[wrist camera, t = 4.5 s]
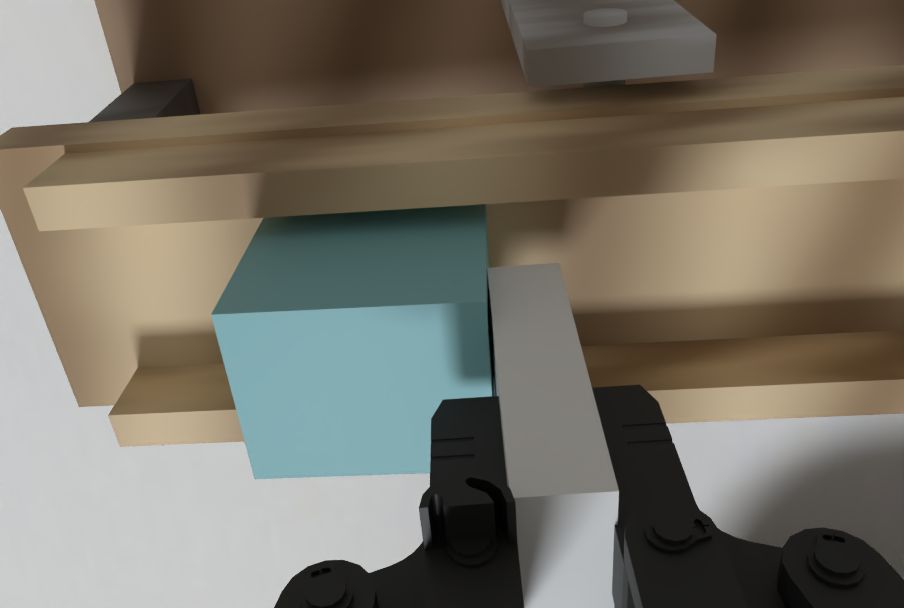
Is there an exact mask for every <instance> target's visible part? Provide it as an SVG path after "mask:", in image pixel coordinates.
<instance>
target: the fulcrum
mask: <svg viewBox="0 0 904 608" xmlns="http://www.w3.org/2000/svg"><path fill="white" fill-rule="evenodd" d="M95 4H96V7H97V11H98V14H99V18H100V21H101V24H102V28H103V31H104V35H105V38H106V42H107V45H108V48H109V52H110V55H111V59H112V62H113V66H114V69H115V73H116V76H117V79H118V83H119V86H120V90H121V93H122V94H121V95H120V96H118V97H117V98H116V99H115V100H114V101H113V102H111V103H110V104H109V105H108V106H107V107H106V108H105V109H103V110H102V111H101V112H100V113H99V114H98V115H96V116H95V117H94V118H93V119H92V120H91V121H90V122H101V121H116V120H130V119H144V118H158V117H172V116H187V115H201V114H215V113H229V112H244V111H258V110H272V109H286V108H301V107H315V106H329V105H343V104H358V103H372V102H386V101H400V100H415V99H429V98H443V97H457V96H472V95H486V94H500V93H514V92H529V91H543V90H557V89H571V88H586V87H600V86H614V85H628V84H643V83H657V82H671V81H685V80H700V79H714V78H728V77H742V76H757V75H771V74H785V73H799V72H814V71H828V70H842V69H856V68H871V67H885V66H899V65H904V0H95Z"/></svg>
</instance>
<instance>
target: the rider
mask: <svg viewBox="0 0 904 608" xmlns="http://www.w3.org/2000/svg"><path fill="white" fill-rule="evenodd" d="M487 268H490V260H489V243H488V225H487V208H486V204H479V205H463V206H447V207H430V208H414V209H398V210H381V211H365V212H349V213H332V214H316V215H300V216H283V217H267V218H263V220H262V221H261V223H260V225H259V227H258V229H257V231H256V232H255V234H254V236H253V238H252V240H251V242H250V244H249V245H248V247H247V249H246V251H245V253H244V255H243V256H242V258H241V260H240V262H239V264H238V266H237V268H236V269H235V271H234V273H233V275H232V277H231V279H230V280H229V282H228V284H227V286H226V288H225V290H224V292H223V293H222V295H221V297H220V299H219V301H218V303H217V304H216V306H215V308H214V310H213V312H212V314H211V317H212V321H213V324H214V328H215V332H216V336H217V339H218V343H219V347H220V351H221V354H222V358H223V362H224V366H225V369H226V373H227V377H228V381H229V384H230V388H231V392H232V396H233V399H234V403H235V407H236V411H237V414H238V418H239V422H240V426H241V429H242V433H243V437H244V441H245V444H246V448H247V452H248V456H249V459H250V463H251V467H252V471H253V474H254V478H255V479H269V478H298V477H327V476H357V475H386V474H416V473H430V461H431V457H430V453H431V418H432V417H433V415H434V413H435V412H436V410H437V408H438V407H439V405H440V404H441V402H442V400H444V399H459V398H474V397H489V396H495V385H494V374H493V357H492V341H491V324H490V308H489V291H488V274H487Z"/></svg>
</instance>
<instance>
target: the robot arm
mask: <svg viewBox="0 0 904 608" xmlns="http://www.w3.org/2000/svg"><path fill="white" fill-rule="evenodd" d="M487 274H488V291H489V308H490V324H491V341H492V357H493V374H494V385H495V396H489V397H474V398H459V399H444V400H442V402H441V404H440V405H439V407H438V408H437V410H436V412H435V413H434V415H433V417H432V418H431V453H430V457H431V461H430V487H429V488H428V489H427V491H426V492H425V493H424V494H423V496H422V499H421V503H420V506H419V512H420V520H421V527H422V535H423V542H422V544H421V545H420V546H419V547H418V548H417V549H416V550H415V552H414V553H412V554H411V555H409V556H408V557H407V558H405V559H404V560H402V561H400V562H398V563H396V564H393V565H391V566H389V567H386V568H383V569H380V570H377V571H374V572H371V573H368V572H367V571H365V570H364V569H363V568H362V567H361V566H360V565H358V564H354V563H351V562H348V561H345V560H328V561H323V562H320V563H317V564H314V565H311V566H308V567H307V568H305V569H304V570H302V571H301V572H299V573H298V574H297V575H295V576H294V577H292V579H291V580H290V581H289V583H288V584H287V586H286V587H285V588H284V590H283V591H282V593H281V595H280V597H279V599H278V601H277V603H276V605H275V607H274V608H614V605H615V608H904V580H903V579H902V578H901V577H900V576H899V574H898V573H897V572H896V571H895V570H894V569H893V568H892V567H891V566H890V565H889V564H888V563H887V562H886V560H885V559H884V558H883V557H882V556H881V555H880V554H879V553H878V552H877V551H875V550H874V549H873V548H872V547H871V546H869V545H868V544H867V543H866V542H864V541H863V540H861V539H859V538H857V537H854V536H852V535H850V534H848V533H846V532H843V531H838V530H833V529H827V528H815V529H805V530H803V531H801V532H799V533H796V534H794V535H792V536H790V538H789V539H788V541H787V542H786V544H785V545H784V547H783V548H780V547H775V546H769V545H764V544H759V543H754V542H749V541H746V540H742V539H739V538H735V537H733V536H731V535H729V534H727V533H725V532H722V531H721V530H719V529H718V528H717V527H716V525H715V524H714V522H713V521H712V519H711V518H710V517H708V516H707V515H706V514H704V513H703V512H701V511H700V510H699V508H698V506H697V505H696V502H695V500H694V497H693V494H692V492H691V489H690V486H689V483H688V481H687V478H686V475H685V473H684V470H683V467H682V464H681V462H680V459H679V456H678V454H677V451H676V448H675V445H674V443H672V437H671V435H670V432H669V429H668V427H667V426H666V421H665V418H664V416H663V413H662V410H661V408H660V405H659V402H658V401H657V400H656V399H655V398H654V397H653V396H652V395H651V394H650V393H648V392H647V391H646V390H645V389H644V388H643V387H642V386H641V385H640V384H639V385H625V386H610V387H595V388H592V387H591V383H590V379H589V375H588V371H587V367H586V364H585V360H584V356H583V352H582V348H581V345H580V341H579V337H578V333H577V329H576V326H575V322H574V318H573V314H572V310H571V306H570V303H569V299H568V295H567V291H566V287H565V284H564V280H563V276H562V272H561V268H560V265H559V263H547V264H533V265H520V266H506V267H492V268H487Z"/></svg>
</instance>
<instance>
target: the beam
mask: <svg viewBox="0 0 904 608" xmlns="http://www.w3.org/2000/svg"><path fill="white" fill-rule="evenodd" d="M479 204H486V208H487V225H488V243H489V260H490V268H492V267H506V266H520V265H533V264H547V263H559V265H560V268H561V272H562V276H563V280H564V284H565V287H566V291H567V295H568V299H569V303H570V306H571V310H572V314H573V318H574V322H575V326H576V329H577V333H578V337H579V341H580V345H581V348H582V352H583V356H584V360H585V364H586V367H587V371H588V375H589V379H590V383H591V387H592V388H595V387H610V386H625V385H639V384H640V385H641V386H642V387H643V388H644V389H645V390H646V391H647V392H648V393H650V394H651V395H652V396H653V397H654V398H655V399H656V400H657V401H658V402H659V405H660V408H661V410H662V413H663V416H664V418H665V421H666V423H686V422H710V421H733V420H756V419H780V418H803V417H827V416H850V415H874V414H897V413H904V65H899V66H885V67H871V68H856V69H842V70H828V71H814V72H799V73H785V74H771V75H757V76H742V77H728V78H714V79H700V80H685V81H671V82H657V83H643V84H628V85H614V86H600V87H586V88H571V89H557V90H543V91H529V92H514V93H500V94H486V95H472V96H457V97H443V98H429V99H415V100H400V101H386V102H372V103H358V104H343V105H329V106H315V107H301V108H286V109H272V110H258V111H244V112H229V113H215V114H201V115H187V116H172V117H158V118H144V119H130V120H116V121H101V122H87V123H73V124H59V125H44V126H30V127H16V128H11V129H9V130H8V131H6V132H5V133H4V134H2V135H1V136H0V209H1V211H2V214H3V216H4V219H5V221H6V224H7V226H8V229H9V231H10V234H11V236H12V239H13V241H14V244H15V246H16V249H17V251H18V254H19V256H20V259H21V262H22V264H23V267H24V269H25V272H26V274H27V277H28V279H29V282H30V284H31V287H32V289H33V292H34V294H35V297H36V299H37V302H38V304H39V307H40V309H41V312H42V315H43V317H44V320H45V322H46V325H47V327H48V330H49V332H50V335H51V337H52V340H53V342H54V345H55V347H56V350H57V352H58V355H59V357H60V360H61V362H62V365H63V368H64V370H65V373H66V375H67V378H68V380H69V383H70V385H71V388H72V390H73V393H74V395H75V398H76V400H77V403H78V405H79V407H87V406H109V405H114V407H113V408H112V410H111V412H110V413H109V415H108V416H109V419H110V421H111V424H112V427H113V429H114V432H115V435H116V437H117V440H118V443H119V445H120V447H124V446H147V445H170V444H194V443H217V442H241V441H244V437H243V433H242V429H241V426H240V422H239V418H238V414H237V411H236V407H235V403H234V399H233V396H232V392H231V388H230V384H229V381H228V377H227V373H226V369H225V366H224V362H223V358H222V354H221V351H220V347H219V343H218V339H217V336H216V332H215V328H214V324H213V321H212V317H211V314H212V312H213V310H214V308H215V306H216V304H217V303H218V301H219V299H220V297H221V295H222V293H223V292H224V290H225V288H226V286H227V284H228V282H229V280H230V279H231V277H232V275H233V273H234V271H235V269H236V268H237V266H238V264H239V262H240V260H241V258H242V256H243V255H244V253H245V251H246V249H247V247H248V245H249V244H250V242H251V240H252V238H253V236H254V234H255V232H256V231H257V229H258V227H259V225H260V223H261V221H262V220H263V218H267V217H283V216H300V215H316V214H332V213H349V212H365V211H381V210H398V209H414V208H430V207H447V206H463V205H479Z"/></svg>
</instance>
